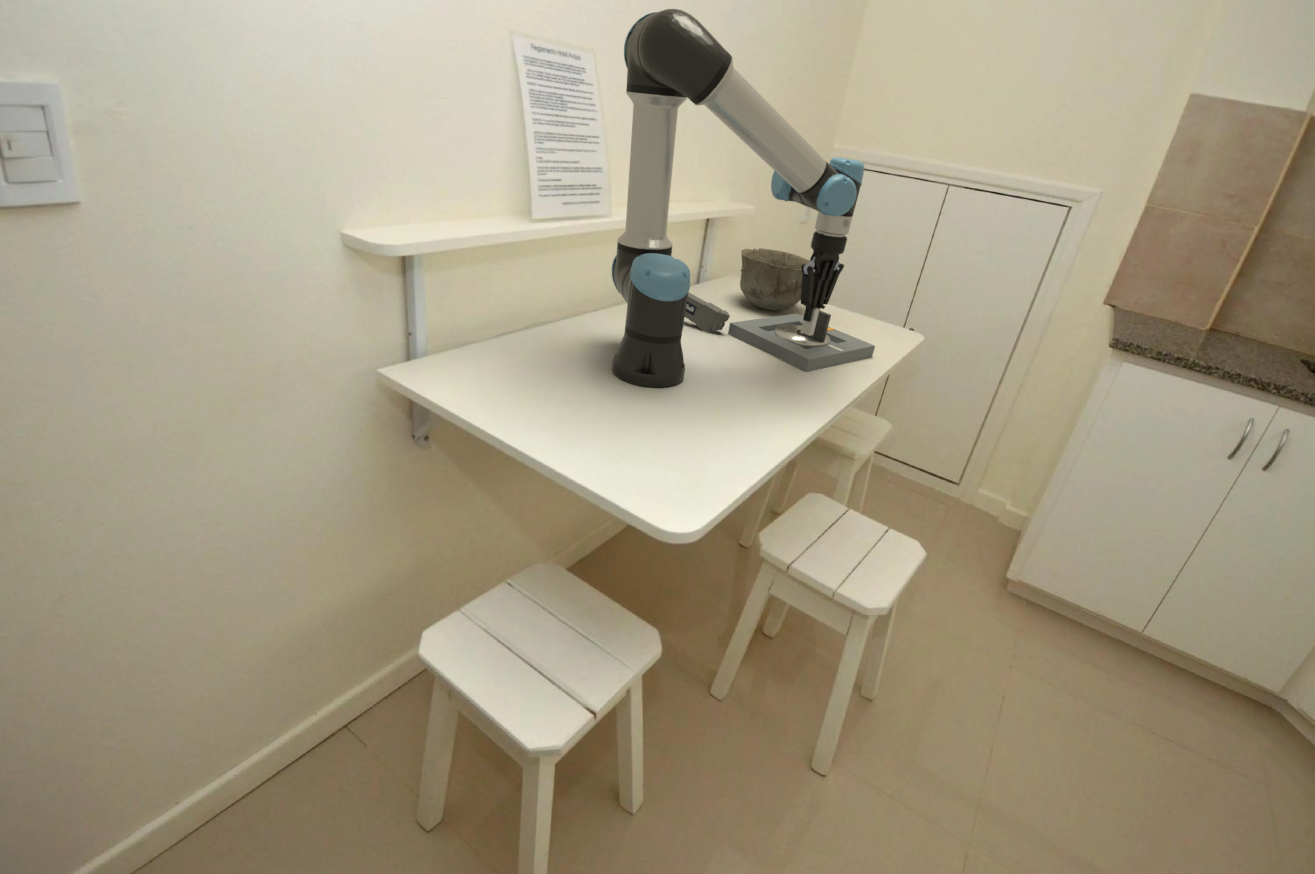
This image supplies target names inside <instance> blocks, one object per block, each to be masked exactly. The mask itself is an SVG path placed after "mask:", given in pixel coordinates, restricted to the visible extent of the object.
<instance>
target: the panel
mask: <svg viewBox="0 0 1315 874" xmlns="http://www.w3.org/2000/svg"><path fill="white" fill-rule="evenodd" d="M803 317H804V315H801V314H800V313H792V314H790V313H789V314H786V315H783V314H782V315H778V316H769V317H763V318H756V319H747V320H739V321H733V322H729V327H728V331H727V332H728V333H727V335H729V336H731V337H733V338H736V339H738V340H740V341H741V342H744V343H746V344H747V345H749V346H751V347H754V348H757V350H760V351H762V352H765V353H766V354H769V355H771V356H772V357H775V358H777V359H779V360H781V361H783V362H785V363H787V364H789V365H792V366H794V367H795V368H798V369H800V370H801V371H804V372H810V371H815V370H819V369H823V368H828V367H833V366H836V365H841V364H847V363H851V362H855V361H859V360H864V359H869V358H872V357H873V354H874V351H875V349H876V345H874V344H872V343H870V342H867V341H864V340H863V339H860V338H857V337H855V336H853V335H850V334H848V333H845V332H843V331H840V330H838V329H836V328H833V327H831V326H828V329H827V333H826V334H827V335H828V336H829V337H830V342H829V345H825V346H820V347H814V348H809V349H805V348H803V347H801V346H798V345H796V344H794V343H792V342H790V341H787V340H785V339H783V338H781V337H778V336H776V335H774V330H775V327H777V326H779V325H800V326H802V324H803Z"/></svg>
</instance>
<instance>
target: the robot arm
mask: <svg viewBox="0 0 1315 874" xmlns="http://www.w3.org/2000/svg"><path fill="white" fill-rule="evenodd" d="M623 56H624V57H623V58H624V63H625V66H626V68H627V70H626V71H627V73H626V88H625V89H626V90H625V91H626V93H625V94H626V95H627V96H628V98H629V99H630V101H631V103H632V104H633V107H632V109H633V110H632V125H631V138H630V139H631V140H630V141H631V142H630V152H629V153H630V155H629V169H628V171H629V172H628V186H627V190H628V191H627V202H626V218H625V231H624V232H623V233H622V234H621V235H620V236H619V237H618V238H617V244H616V245H617V247H616V254H615V256H614V258H613V261H612V264H611V279H612V283H613V284H614V286H615V289H616V290H617V292H618V293H619V294H620V295H621V297H622V298H623V300H624V301H625V302H626V304H627V305H626V306H627V307H626V313H625V314H626V316H625V326H624V333H623V337H622V339H621V341H620V343H619V346H618V348H617V351H616V353H615V354H614V356H613V359H612V369H611V370H612V372H613V373H614V375H615V376H616V377H617V378H619V379H621V380H623V381H624V382H626V383H627V382H628V383H630V384H634V385H636V386H637V385H638V386H641V387H649V388H650V387H651V388H667V387H672V386H676V385H678V384H681V382H683V380H684V378H685V372H686V365H685V363H684V362H685V361H684V359H685V358H684V354H683V353H684V352H683V349H682V336H683V331H684V330H683V329H684V322H685V318H686V317H685V311H686V304H687V298H688V292H689V291H690V289H691V270H690V268H689V266H688V265H687V264H686V263H685V262H684V261H682V260H680V259H679V258H675V257H674V256H672V253H673V242H672V241H671V240H670V238H669V236H668V235H667V233H668V232H667V231H668V219H669V211H670V199H671V197H670V196H671V188H672V187H671V186H672V176H673V163H674V155H675V154H674V153H675V143H676V132H677V123H678V122H677V121H678V112H679V111H678V110H679V108H680V107H681V105H682V104H684V103H685V102H686V101H687V99H688V100H689V101H691V103H693V104H694V105H695V106H705V108H707V109H708V110H709V111H710V112H712V114H713V115H714V116H715V117H717V118H718V119H719V120H720V121H721V122H722V123H723V124H724V125H725V126H726V127H727V128H729V129H730V131H731V132H733V133H734V134H735V135H736V136H737V137H738V138H739V139H740V140H741V141H742V142H743V143H744V144H745V145H747V147H748V148H750V149H751V150H752V151H753V152H754V153H755V154H756V155H757V156H759V158H760V159H761V160H763V162H765V163H766V164H767V165H768V166H769V167H770V168H771V169H772V170H773V172H772V176H771V181H770V182H771V183H770V189H771V193H772V197H773V198H775V199H776V200H779V201H785V202H793V203H797V204H800V205H801V206H802V205H803V206H805V207H806V208H807V207H808V208H810V209H812V210H814V211H817V217H816V219H815V224H814V228H815V230H816V231H814V232H813V234H812V238H811V239H812V240H811V242H810V248H811V249H812V254H811V257H810V258H809V260H810V262H809V263H808V264H807V265H805V264H802V266H801V270H802V288H801V300H800V304H801V305H803V306H804V307H805V308H804V309H805V310H804V314H803V316H804V317H803V324H802V329H801V332H802V333H804V334H807V335H809V336H810V335H813V334H814V330H815V326H816V322H817V319H818V316H819V312H820V311H821V309H822V310H825V308H826V305H828V304H829V302H830V299H831V296H832V294H833V292H834V289H835V286H836V283H838V282H837V281H838V279H839V277H840V274H841V272H843V269H844V268H845V264H843V263H841V262H840V261H839V260H840V255H842V254H843V253H844V252H845V249H846V245H847V241H848V237H847V235H848V234H849V233H850V229H851V224H852V219H853V216H854V213H855V209H856V205H857V201H858V198H859V193H860V189H861V186H862V184H863V179H864V178H863V177H864V171H865V164H864V162H862V161H860V160H857V159H852V158H847V157H846V158H845V157H832V158H831V159H830V161H829V163H828V162H827V161H826V160H825V158H824V157H823V156H822V155H821V154H820V153H819V152H818V151H817V150H816V149H815V148H814V147H813V146H812V145H811V144H810V143H809V142H808V141H807V140H806V139H805V138H804V137H803V136H802V135H801V134H800V133H799V132H798V131H797V130H796V129H795V128H794V127H793V126H792V125H791V124H790V123H789V122H788V121H787V120H786V119H785V118H784V117H783V116H782V115H781V114H780V113H779V112H778V111H777V110H776V108H774V106H772V105H771V103H769V102H768V101H767V100H766V99H765V98H764V97H763V95H761V93H759V92H758V90H757V89H755V87H753V85H751V83H749V81H748V80H747V79H745V77H744V76H743V75H742V74H741V73H740V72H739V71H738V70H737V69H736V68H735V67H734V57H733V56H732V55H731V54H730V52H728V51H727V50H726V49H725V47H724V46H723V45H722V44H721V43H720V42H719V41H718V40H717V38H715V36H713V34H711V33H710V31H709V30H707V28H706V27H705V26H704V25H703V24H702V23H701V22H700V21H699V20H698V19H697V18H695V17H694V16H693V15H692V14H690V13H688V12H686V11H684V10H682V9H677V8H667V9H663V10H659V11H654V12H651V13H647V14H645V15H643V16H642V17H640V18H638V19H637V21H636V22H635V23H634V24H633V25H632V26H631V27H630V28H629V31H628V32H627V34H626V37H625V40H624V45H623ZM689 293H690V292H689Z"/></svg>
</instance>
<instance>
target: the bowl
mask: <svg viewBox="0 0 1315 874" xmlns="http://www.w3.org/2000/svg"><path fill="white" fill-rule="evenodd" d="M740 252H741V269H740V273H741V275H740V281H739V286H740V290H741V292H742V294H743V296H744V297H745V299H747V301H749V302H750V303H751V304H753V305H754V306H756V307H757V308H760V309H763V310H765V311H766V310H767V311H783V310H788V309H790V308H793V307H795V305H797V304H798V303H799V302H801V288H802V270H801V266H802V264H805V265H807V264H808V263H809V262H810V259H807V258H805V257H803V256H800V255H796V254H793V253H790V252H786V251H781V250H775V249H771V248H770V249H769V248H762V247H761V248H752V249H750V248H744V249H741V250H740Z"/></svg>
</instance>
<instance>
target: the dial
mask: <svg viewBox="0 0 1315 874" xmlns="http://www.w3.org/2000/svg"><path fill="white" fill-rule="evenodd" d="M831 317H832V314H830V313H828V312H825V311H823V310H820V312H819V316H818V319H817V322H816V326H815V330H814V334H813V335H810V336H809V335H807V334H804V333H802V332H801V329H802V326H800V325H779V326H777V327H775V330H774V335H776V336H778V337H781V338H783V339H785V340H787V341H790V342H792V343H794V344H796V345H798V346H801V347H803V348H805V349H809V348H814V347H820V346H825V345H829V342H830V337H829V336H828V335H827V334H826V333H827V329H828V327H829V324H830V321H831Z"/></svg>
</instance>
